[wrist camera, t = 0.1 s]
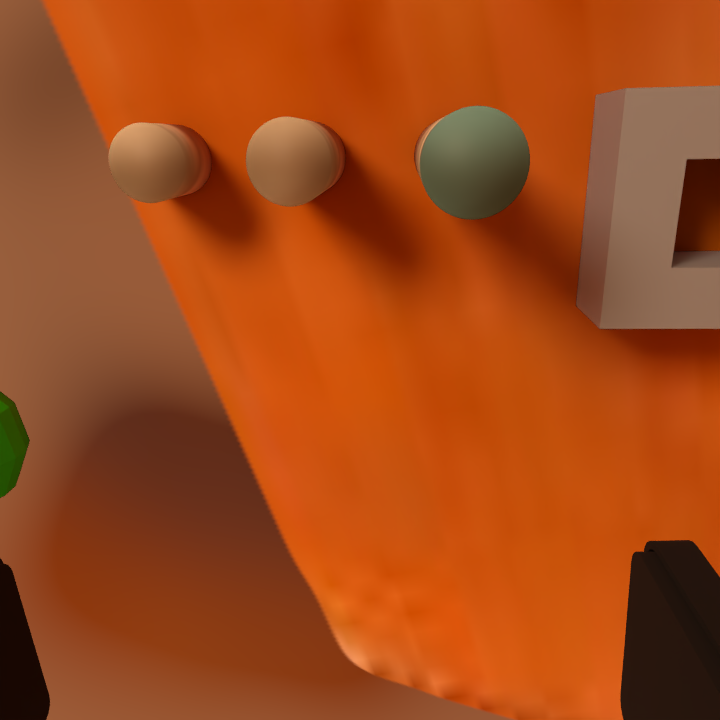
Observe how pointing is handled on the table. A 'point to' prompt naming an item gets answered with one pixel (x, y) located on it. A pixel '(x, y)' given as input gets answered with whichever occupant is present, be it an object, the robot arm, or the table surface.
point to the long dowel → (473, 162)
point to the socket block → (647, 211)
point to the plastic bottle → (11, 444)
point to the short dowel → (159, 161)
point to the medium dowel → (294, 160)
